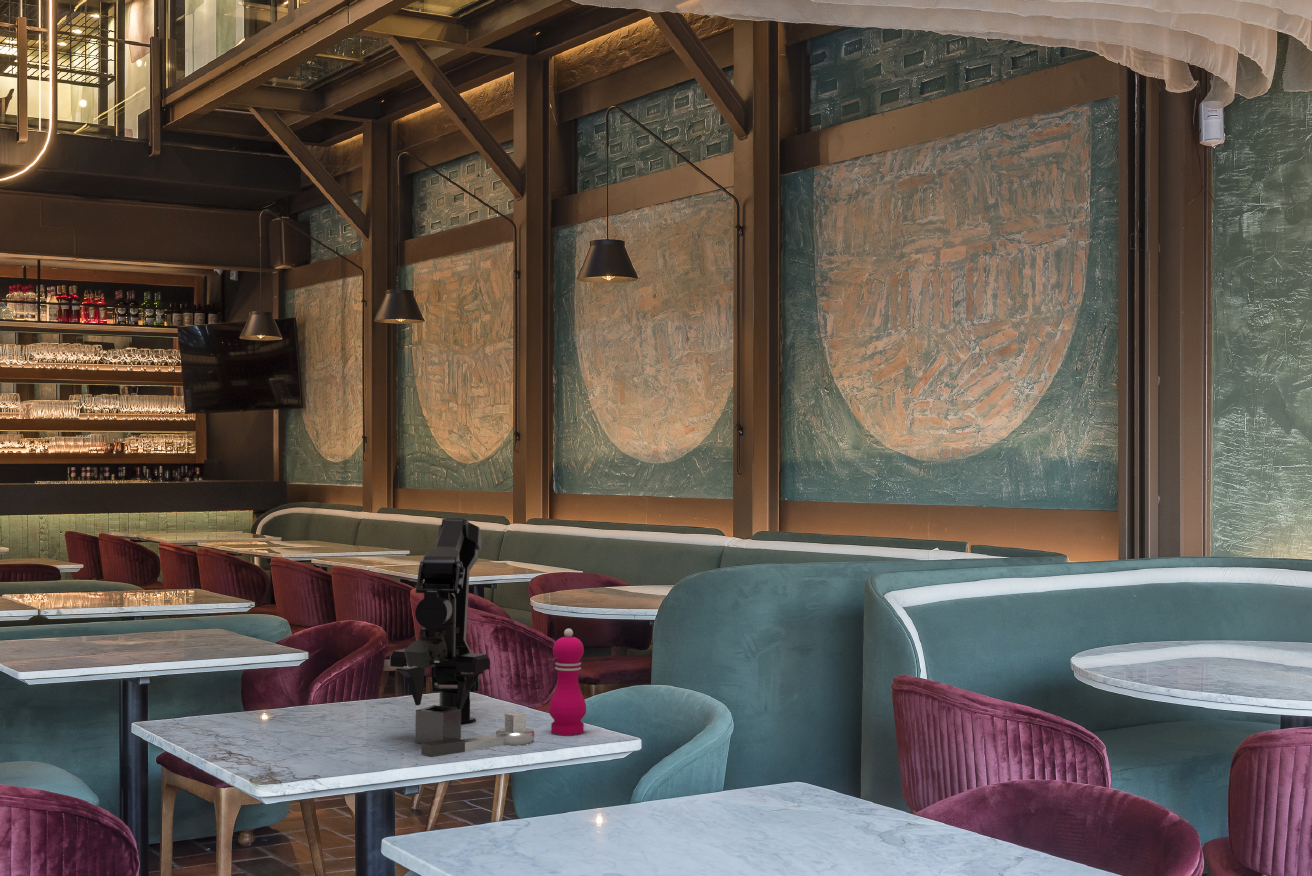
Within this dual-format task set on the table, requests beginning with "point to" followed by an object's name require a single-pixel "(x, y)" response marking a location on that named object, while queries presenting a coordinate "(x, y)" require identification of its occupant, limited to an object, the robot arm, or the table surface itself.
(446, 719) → the grey open-top box
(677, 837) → the table surface
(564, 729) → the pepper mill
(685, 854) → the table surface
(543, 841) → the table surface
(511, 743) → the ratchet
